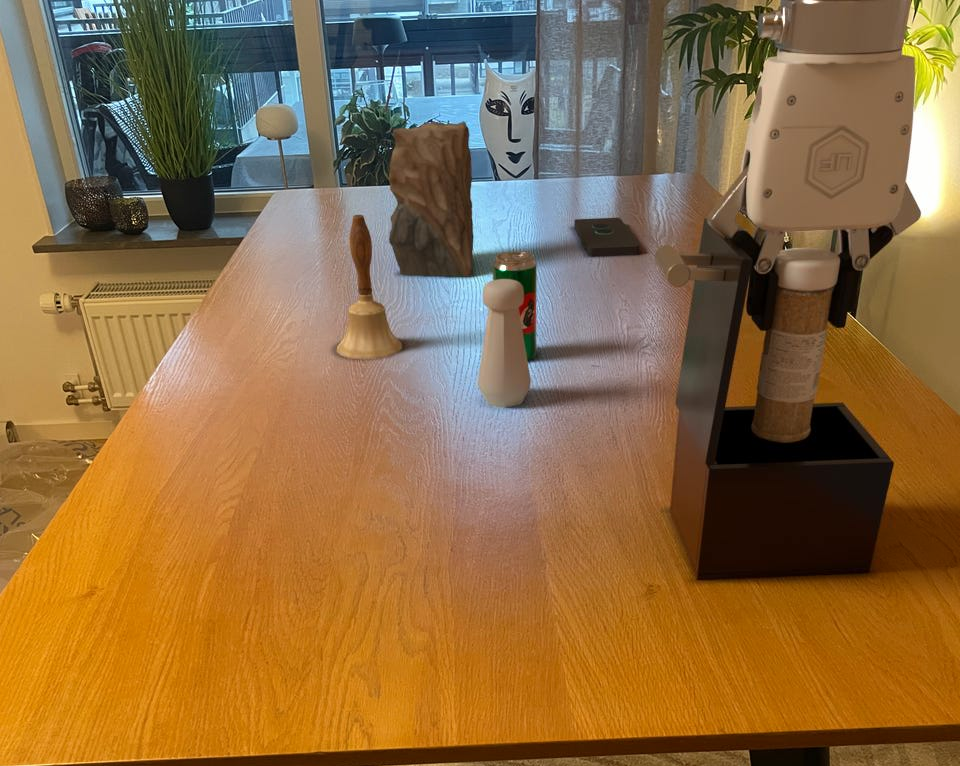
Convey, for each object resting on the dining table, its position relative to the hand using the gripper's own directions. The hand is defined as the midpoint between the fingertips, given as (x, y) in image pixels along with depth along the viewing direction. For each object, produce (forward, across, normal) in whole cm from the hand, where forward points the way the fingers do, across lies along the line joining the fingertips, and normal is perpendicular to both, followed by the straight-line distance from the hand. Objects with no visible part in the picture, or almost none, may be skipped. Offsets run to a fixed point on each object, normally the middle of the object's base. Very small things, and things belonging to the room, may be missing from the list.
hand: (797, 321), depth 73 cm
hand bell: (+19, -36, +52) cm, 66 cm away
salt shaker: (+19, -20, +33) cm, 43 cm away
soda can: (+19, -18, +47) cm, 54 cm away
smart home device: (+19, 0, +101) cm, 103 cm away
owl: (+19, -27, +87) cm, 93 cm away
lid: (+1, -6, 0) cm, 6 cm away
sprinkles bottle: (+9, 0, 0) cm, 9 cm away
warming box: (+19, 0, 0) cm, 19 cm away
